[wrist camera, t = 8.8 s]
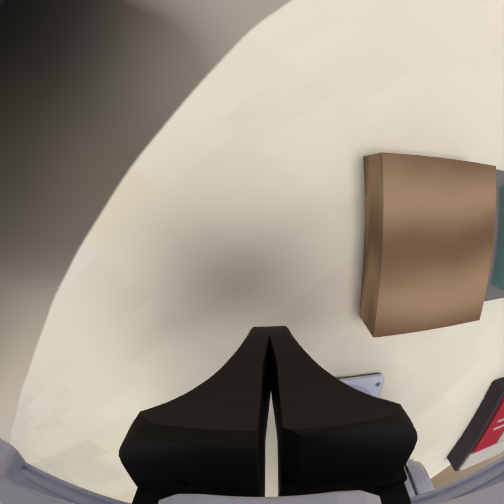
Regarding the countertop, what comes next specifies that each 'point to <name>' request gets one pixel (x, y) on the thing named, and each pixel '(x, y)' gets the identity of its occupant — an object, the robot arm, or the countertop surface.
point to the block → (500, 250)
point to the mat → (495, 242)
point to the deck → (425, 242)
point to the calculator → (482, 431)
